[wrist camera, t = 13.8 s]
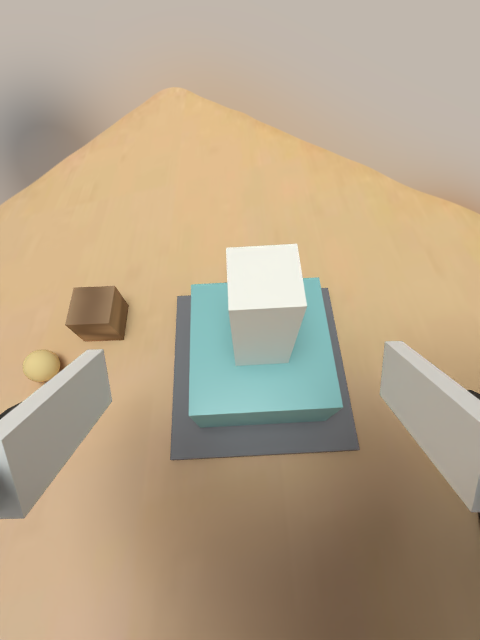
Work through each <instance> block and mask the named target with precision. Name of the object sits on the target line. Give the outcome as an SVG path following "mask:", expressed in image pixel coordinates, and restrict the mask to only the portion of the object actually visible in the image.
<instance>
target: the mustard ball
mask: <svg viewBox="0 0 480 640" xmlns="http://www.w3.org/2000/svg"><path fill="white" fill-rule="evenodd" d="M59 369H60V361H59V358H58V357H57V355H56V354H54V353H53V352H51V351H48V350H37V351H34V352H32V353H30V354H29V355H28V356H27V357H26V358H25V360H24V362H23V372H24V374H25V375H26V376H27V377H28V378H29V379H30V380H32V381H36V382H44V381H48V380H50V379H52V378H53V377H54V376H55V375H56V374H57V373H58V371H59Z"/></svg>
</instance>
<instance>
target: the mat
mask: <svg viewBox="0 0 480 640" xmlns="http://www.w3.org/2000/svg"><path fill="white" fill-rule="evenodd" d="M321 291H322V297H323V302H324V307H325V313H326V318H327V323H328V329H329V334H330V340H331V345H332V350H333V356H334V361H335V366H336V372H337V377H338V382H339V388H340V393H341V398H342V404H343V408H342V409H340V410H339V411H338V412H336V413H335V414H334V415H332V416H331V417H330V418H329V419H327V420H326V421H314V422H295V423H277V424H259V425H241V426H222V427H204V428H200V427H199V426H198V425H197V424H196V423H195V422H194V421H193V420H192V419H191V418H190V417H189V372H190V325H191V295H190V296H177V318H176V341H175V364H174V387H173V410H172V433H171V456H170V460H184V459H203V458H222V457H240V456H259V455H277V454H296V453H314V452H333V451H352V450H360V449H359V443H358V438H357V433H356V428H355V423H354V418H353V413H352V408H351V403H350V398H349V393H348V388H347V383H346V378H345V372H344V367H343V362H342V357H341V352H340V347H339V342H338V337H337V332H336V327H335V322H334V317H333V312H332V307H331V301H330V296H329V291H328V288H321Z"/></svg>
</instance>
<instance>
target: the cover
mask: <svg viewBox="0 0 480 640" xmlns="http://www.w3.org/2000/svg"><path fill="white" fill-rule="evenodd" d="M226 256H227V283H213V284H195V285H191V325H190V372H189V417H190V418H191V419H192V420H193V421H194V422H195V423H196V424H197V425H198V426H199V427H200V428H204V427H222V426H241V425H259V424H277V423H295V422H314V421H326V420H327V419H329V418H330V417H331V416H332V415H334V414H335V413H336V412H338V411H339V410H340V409H342V408H343V404H342V398H341V393H340V388H339V382H338V377H337V372H336V366H335V361H334V356H333V350H332V345H331V340H330V334H329V329H328V323H327V318H326V313H325V307H324V302H323V297H322V291H321V286H320V281H319V278H303V277H302V271H301V265H300V259H299V252H298V246H297V244H286V245H268V246H250V247H233V248H226Z"/></svg>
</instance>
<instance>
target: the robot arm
mask: <svg viewBox="0 0 480 640" xmlns="http://www.w3.org/2000/svg"><path fill="white" fill-rule="evenodd" d="M380 396H381V397H382V398H383V400H384V401H385V402H386V404H387V405H388V406H389V407H390V409H391V410H392V411H393V413H394V414H395V415H396V416H397V418H398V419H399V420H400V422H401V423H402V424H403V425H404V427H405V428H406V429H407V431H408V432H409V433H410V434H411V436H412V437H413V438H414V439H415V441H416V442H417V443H418V445H419V446H420V447H421V448H422V450H423V451H424V452H425V454H426V455H427V456H428V457H429V459H430V460H431V461H432V463H433V464H434V465H435V466H436V468H437V469H438V470H439V472H440V473H441V474H442V475H443V477H444V478H445V479H446V481H447V482H448V483H449V484H450V486H451V487H452V488H453V490H454V491H455V492H456V493H457V495H458V496H459V497H460V499H461V500H462V501H463V502H464V504H465V505H466V506H467V508H468V509H469V510H470V511H471V512H479V516H480V394H478V393H476V392H474V391H472V390H466V389H464V388H463V387H462V386H461V385H459V384H458V383H457V382H455V381H454V380H453V379H451V378H450V377H449V376H447V375H446V374H445V373H443V372H442V371H441V370H439V369H438V368H437V367H435V366H434V365H433V364H431V363H430V362H429V361H428V360H426V359H425V358H424V357H422V356H421V355H420V354H418V353H417V352H416V351H414V350H413V349H412V348H410V347H409V346H408V345H406V344H405V343H404V342H402V341H385V346H384V356H383V366H382V376H381V386H380ZM111 402H112V397H111V391H110V385H109V379H108V373H107V367H106V362H105V356H104V350H103V349H97V350H86V351H85V352H84V353H83V354H81V355H80V356H79V357H78V358H77V359H75V360H74V361H73V362H72V363H70V364H69V365H68V366H67V367H65V368H64V369H63V370H62V371H60V372H59V373H58V374H57V375H55V376H54V377H53V378H52V379H50V380H49V381H48V382H47V383H45V384H44V385H43V386H42V387H40V388H39V389H38V390H37V391H35V392H34V393H33V394H32V395H30V396H29V397H28V398H27V399H25V400H24V401H23V402H21V403H19V404H17V405H15V406H13V407H11V408H9V409H7V410H6V411H4V412H3V413H2V414H1V415H0V519H19V518H25V517H26V516H27V514H28V513H29V512H30V510H31V509H32V507H33V506H34V505H35V503H36V502H37V501H38V499H39V498H40V497H41V495H42V494H43V493H44V491H45V490H46V489H47V487H48V486H49V485H50V483H51V482H52V481H53V479H54V478H55V477H56V475H57V474H58V473H59V471H60V470H61V469H62V467H63V466H64V465H65V463H66V462H67V461H68V459H69V458H70V457H71V455H72V454H73V453H74V451H75V450H76V449H77V447H78V446H79V445H80V443H81V442H82V441H83V439H84V438H85V437H86V435H87V434H88V433H89V431H90V430H91V429H92V427H93V426H94V425H95V423H96V422H97V421H98V419H99V418H100V417H101V415H102V414H103V413H104V411H105V410H106V409H107V407H108V406H109V405H110V403H111Z"/></svg>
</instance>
